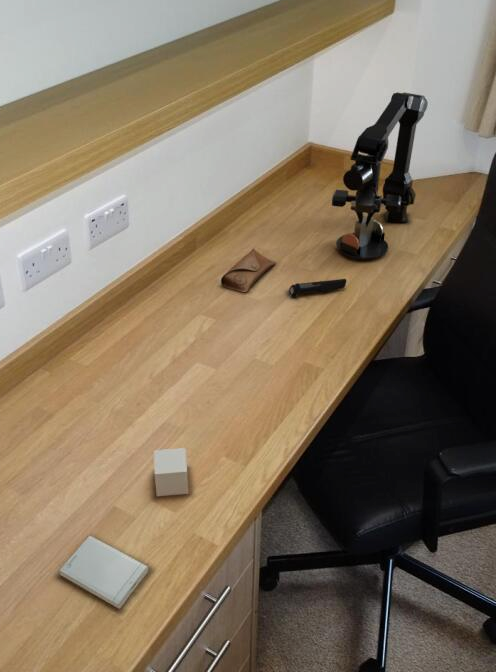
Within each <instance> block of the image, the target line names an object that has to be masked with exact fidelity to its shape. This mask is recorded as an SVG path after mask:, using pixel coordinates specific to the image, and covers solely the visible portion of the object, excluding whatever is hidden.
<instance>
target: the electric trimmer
mask: <svg viewBox="0 0 496 672" xmlns="http://www.w3.org/2000/svg"><path fill="white" fill-rule="evenodd" d="M346 284H347V279H346V278H340V279H330V280H322V281H321V280H320V281H312V282H310V281H309V282H301V283H298V282H297V283H295V284H291V285H290V286H289V289H288V294H289V295H290V297H291V298H297V296H299V295H306V294H312V293H313V294H314V293H323V294H324V293H328V292H333V291H336V290H341V289H344V288H345V287H346V286H347V285H346Z"/></svg>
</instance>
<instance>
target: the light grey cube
mask: <svg viewBox="0 0 496 672" xmlns="http://www.w3.org/2000/svg"><path fill="white" fill-rule="evenodd" d="M153 462H154V464H153V465H154V467H153V469H154V482H155V491H156V492H155V493H156V497H165V496H179V495H189V479H188V466H187V451H186V447H180V448H167V449H155V450H153Z"/></svg>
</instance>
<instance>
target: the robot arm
mask: <svg viewBox="0 0 496 672" xmlns="http://www.w3.org/2000/svg"><path fill="white" fill-rule="evenodd" d="M427 109H428V99H426V96H425V95H421V94H418V93H417V94H415V93H410V92H398V91H397V92H394V93H393V94H392V95H391V97H390V101H389V103H387V105H386V107H385V109H384V110H383V112H382V113H381V114H380V116H379V117H378V119H377V120H376V122H374V124H372V125H370V126H368V127H365V129H364V130H363V131H362V132H361V133H360V135H358V137H357V139H356V142H355V145H354V148H353V150H352V152H351V156H350V161H353V162H355V163H353V164H352V165H350V169H348V170H347V171H345V172H344V174H343V176H342V181H343V184H344V186H345V187H346V188H347V189H348V190H344V189H336V190H334V192H333V195H332V197H331V206H333V207H338V208H343V207H345V206H346V204H347V203H350V205H351V206H350V210H351V211H354V212H355V214H356V216H357V220H359V221H362V220H363V218H364V214H367V215H366V216H367V220H366V228H367V226H368V224H369V222H370V220H371V218H372V217H373V216H374V215H375V214H377V213H378V214H379V213H380V212H381V208H382V206H384V207H385V208H384V210H386V211H385V222H388V223H403V224H404V223H405V224H406V223H408V222H409V221H408V220H409V219H408V213H407V211H408V207H410V206H411V205H414V204H415V200H416V196H417V195H416V191H415V190H414V188H413V178H412V176H411V174H410V165H411V159H412V155H413V154H412V153H413V147H414V141H415V137H416V129H417V125H418V123H419V122H420V121H421V120H422V119H423V117H424V115H425V113H426V111H427ZM397 124H399V128H398V133H397V139H396V146H395V154H394V158H393V159H394V160H393V165H392V166H393V167H392V171H391V173H390V174H388V176H387V177H386V178H385V179H384V183H383V186H382V195H378V193H379V184H380V174H381V166H382V162H383V160H384V158H385V155H386V154H387V152H388V149H389V145H390V144H389V136H390V135H391V133H392V132H393V130H394V129H395V127H396V125H397ZM349 190H350V191H352V192H353V191H355V195H353V194H352V195H351V194H349Z"/></svg>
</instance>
